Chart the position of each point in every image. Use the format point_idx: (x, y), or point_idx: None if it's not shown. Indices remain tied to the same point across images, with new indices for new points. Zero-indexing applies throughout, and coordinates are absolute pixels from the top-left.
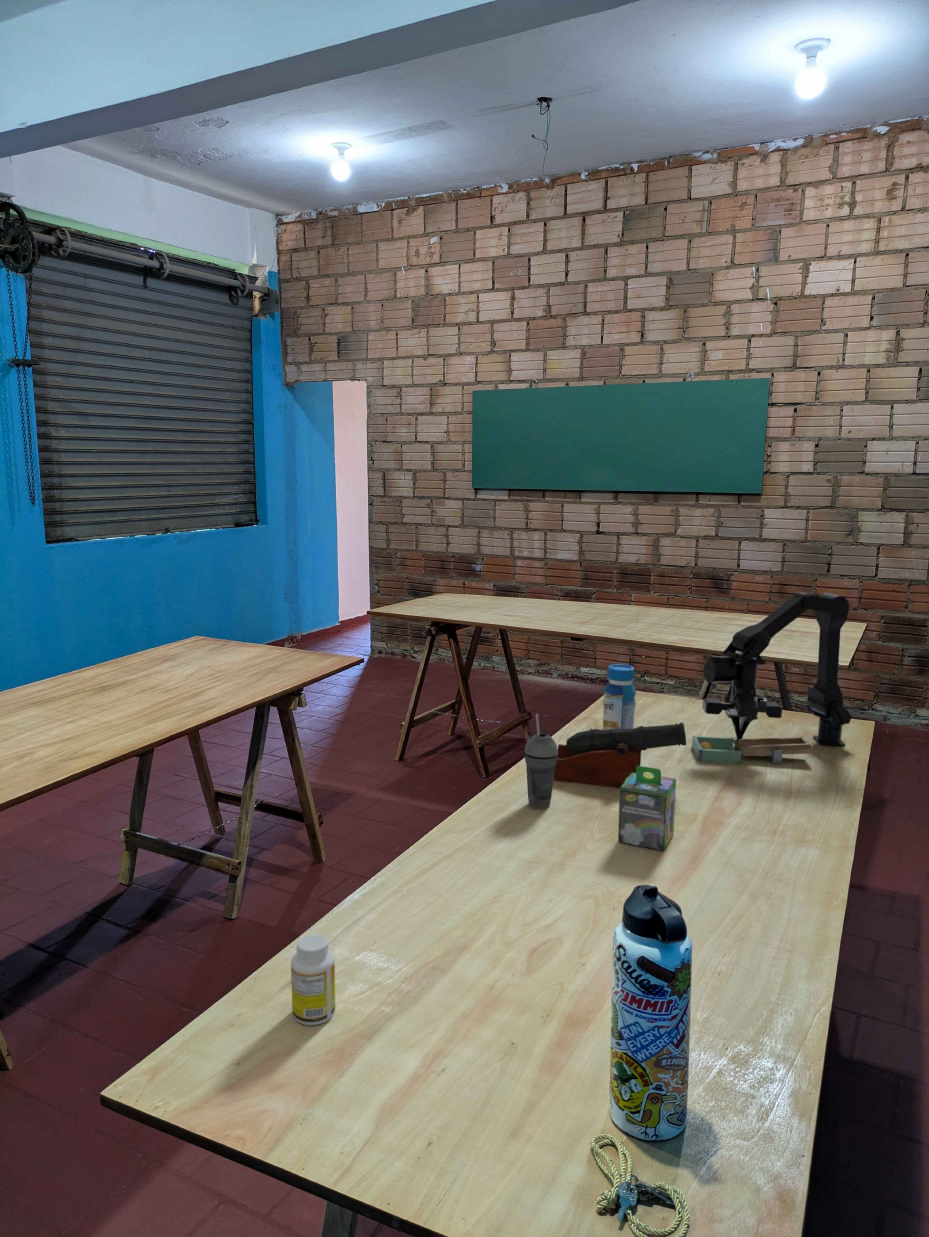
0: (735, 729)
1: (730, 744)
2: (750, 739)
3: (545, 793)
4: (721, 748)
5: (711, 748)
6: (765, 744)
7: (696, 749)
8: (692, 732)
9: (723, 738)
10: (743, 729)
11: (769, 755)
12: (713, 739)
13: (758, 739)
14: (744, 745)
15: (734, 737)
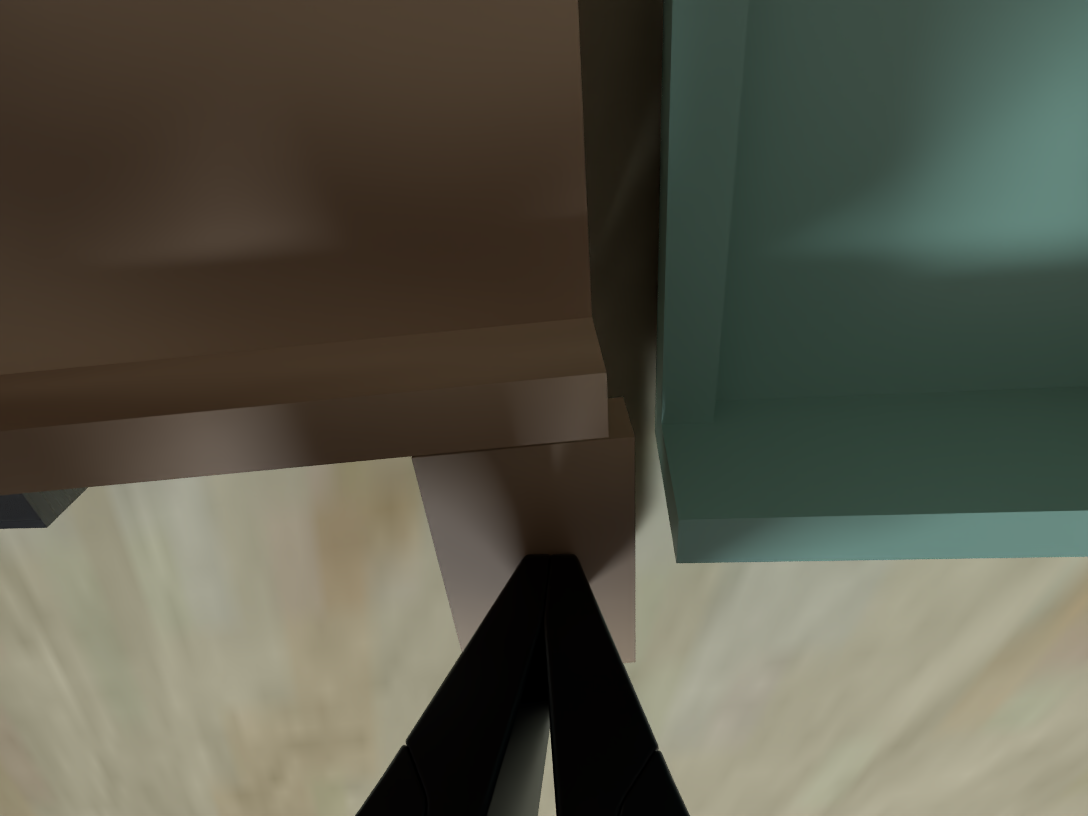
0: (650, 737)
1: (706, 447)
2: (327, 432)
3: None
4: (833, 395)
5: (1012, 365)
6: (46, 363)
7: None
8: (942, 789)
9: (880, 514)
10: (466, 740)
11: None
12: (1069, 489)
13: (134, 429)
14: (480, 307)
15: None
